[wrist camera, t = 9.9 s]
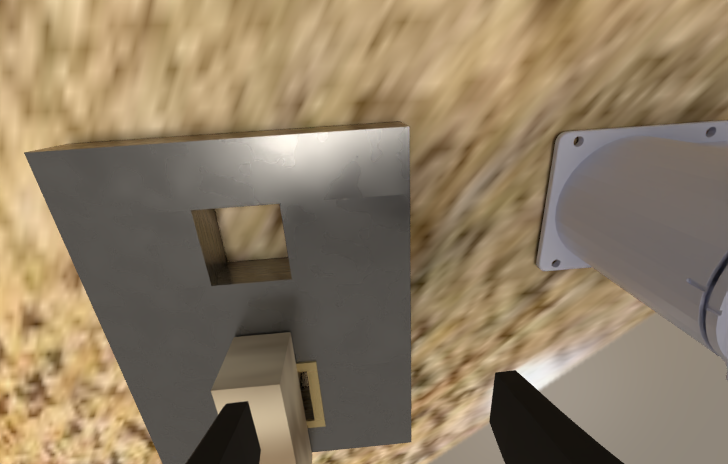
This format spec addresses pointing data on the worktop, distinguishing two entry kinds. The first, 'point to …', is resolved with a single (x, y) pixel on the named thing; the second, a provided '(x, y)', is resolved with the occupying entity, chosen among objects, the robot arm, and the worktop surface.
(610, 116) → the worktop surface
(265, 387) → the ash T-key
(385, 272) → the charcoal cover panel
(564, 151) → the robot arm
